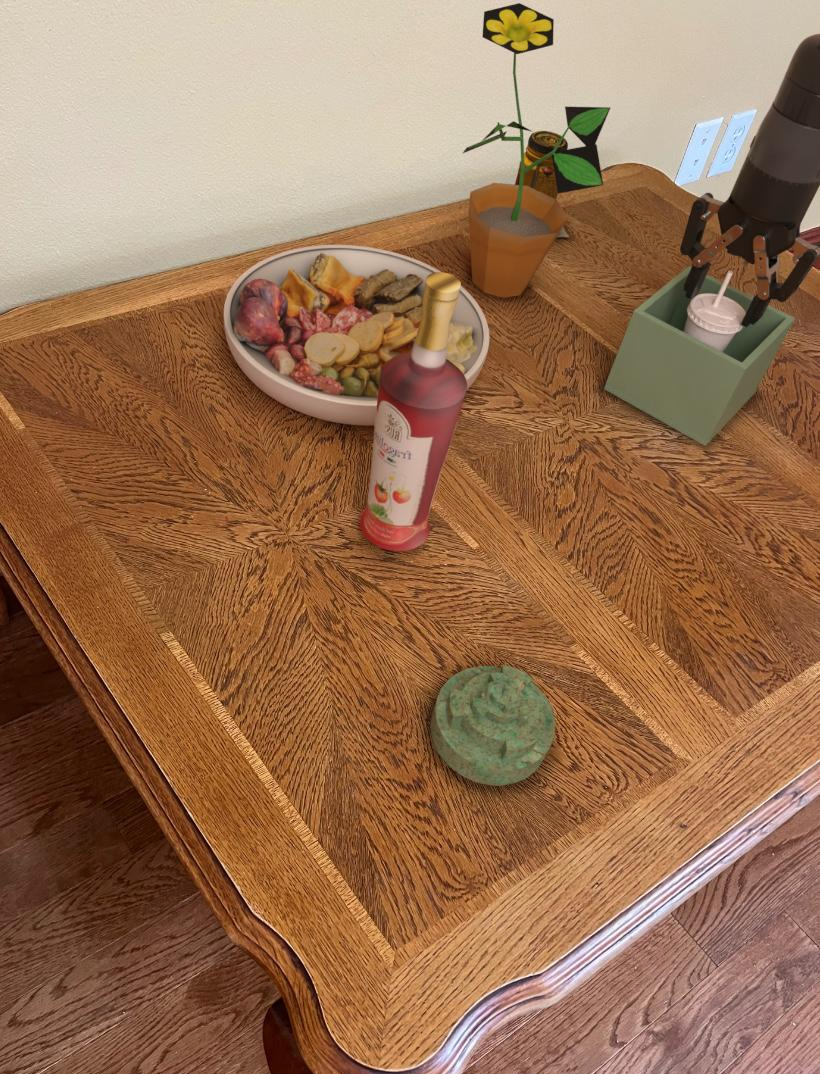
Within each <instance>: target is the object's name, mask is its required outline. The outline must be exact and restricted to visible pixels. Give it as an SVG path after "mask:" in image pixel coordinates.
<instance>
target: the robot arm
mask: <svg viewBox="0 0 820 1074" xmlns="http://www.w3.org/2000/svg"><path fill="white" fill-rule="evenodd" d="M819 188H820V33H815V34H812V35H809V36H807V37H806V38H804V39H803V40H801V42H800V43H799V45H797V47H796V50H794V53H793V55H792V57H791V59H790V61H789V64H788V66H787V70H786V71H785V73H784V76H783V78H782V81H781V83H780V85H779V87H778V89H777V92H776V94H775V97H774V98H773V101H772V103H771V105H770V107H769V109H768V111H767V112H766V114H765V116H764V118H763V120H762V121H761V123H760V125H759V127H758V129H757V131H756V134H755V135H754V137H753V139H752V140H751V142H750V144H749V150H748V152H747V155H746V157H745V159H744V161H743V164H742V166H741V168H740V170H739V173H738V175H737V177H736V180H735V182H734V185H733V187H732V190H731V192H730V193H729V196H728V197H727V199H726V200H725V201H722V200H719V199H716V198H714V195H713V193H711V192H706V193H704V194H702V195H701V196H699V197H698V198H697V199H695V201H693V202H692V205H691V209H690V211H689V212H690V213H689V214H688V215H689V216H688V219H687V223H686V226H685V230H684V233H683V237H682V241H681V243H680V248H679V252H680V253H681V255H683V256H687V257H688V258H689V259H690V261H691V270H690V272H689V274H688V277H687V279H686V282H685V284H684V291H686V292H687V293H686V295H685V297H687V298H688V299H690V300H691V299H692V298H694V297H695V296H696V295H697V294H698V292H699V290H700V288H701V286H702V284H703V282H704V279H705V277H706V275H708V272H709V270H710V268H711V265H712V262H711V263H710V261H711V260H712V259H713V258H714V257H715V256H717V255H718V254H719V253H720V252H722V251H723V250H724V249H726V253H727V254H729V255H732V256H734V257H735V256H736V257H739V258H741V259H742V260H744V261H745V262H746V263H748V264H750V265H752V266H753V265H754V277H755V279H756V281H757V285H756V287H757V293H756V294H755V295H754V296H753V297H754V298H753V300H752V302H751V304H750V306H749V308H748V310H747V312H746V314H745V316H744V318H743V320H742V322H741V325H742V326H744V327H746V328H747V327H748V326H749V325H750V324H752V325H754V324H755V323H756V322H757V321H758V320H759V319H760V318H761V317H762V316H763V314H764V312H765V310H766V308H767V306H768V305H770V303H771V300H777V301H778V302H779V303H785V302H786V301H787V300H789V298H790V297H791V296H792V295H794V293H796V292H797V290H798V289H799V287H800V285H801V284H802V282H803V281H804V280H805V278H806V277H807V275H808V274H809V272H810V271H811V269H812V268H813V267H814V265H815V264H816V262H817V261H818V259H819V258H820V242H815V243H813V244H812V243H810V242H809V241H807V240H805V239H804V238H802V237H801V224H802V222H803V220H804V218H805V216H806V214H807V212H808V210H809V208H810V206H811V204H812V202H813V200H814V198H815V196H816V194H817V192H818V190H819ZM715 214H716V215H717V218H718V224H719V229H720V230H719V231H720V234H721V235H720V236H719V237H718V238H717V239H715V240H714V241H713V242H712V243H711V244H709V245H708V246H707V247H705V246H704V245H703V244H702V239H703V237H704V233H705V229H706V227H707V223H708V221H709V220H711V219H713V217H714V216H715ZM790 249H792V251H793V255H792V263H793V264H794V267H793V269H792V270H791V271H790V273H789V275H787V277H786V279H785V280H784V282H779V269H780V266H781V254H783V253H784V252H786V251H788V250H790Z"/></svg>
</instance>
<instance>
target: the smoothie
mask: <svg viewBox="0 0 820 1074" xmlns="http://www.w3.org/2000/svg"><path fill="white" fill-rule="evenodd" d="M733 275H734V271H732V270H728V271H727V273H726V275H725V277H724V279H723V281H722V282H723V284H722V286H721V288H720V290H719V292H718V294H712V293H705V294H699V295H697V296H695V297H694V298H692V300H691V302H690V304H689V305H688V308H687V312H688V317H687V321H686V324H685V328H684V331H683V332H684V333H686V334H688V335H690V336H692V337H694V338H696V339H698V340H700V341H702V342H703V343H705V344H707V345H709V346H711V347H713V348H715V349H717V350H719V351H721V352H724V350H725V349H726V347H727V346H728V344H729V343H730V341H731V340H732V338H733V337H734V335H735V334H736V333H737V332H739V331H740V330H741V329H742V328H743V326H742V325H741V322H742V320H743V318H744V316H745V314H746V313H745V311H744V309H743V308H742V307H741V306H740V305H739V304H738V303H736V302H735V301H733V300H732V299H730V298H727V297H725V296H723V294H724V292H725V289H726V287H727V285H729V283H730V281H731V280H732V276H733Z"/></svg>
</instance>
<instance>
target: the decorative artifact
mask: <svg viewBox="0 0 820 1074" xmlns="http://www.w3.org/2000/svg"><path fill="white" fill-rule="evenodd" d="M533 681H534V679H533V677H531V676H530V675H529V674H527V673H525V672H524V671H522V670H520V669H518V668H516V667H513V666H510V665H507V664H502V666H493V665H478V666H473V667H468V668H466V669H463V670H461V671H459V672H457V673H455V674H454V675H452V676H451V677H449V678H448V679H447V681H446V682H445V683H444V684H443V686H441V688H440V690H439V692H438V695H437V698H436V701H435V704H434V707H433V711H432V714H431V716H430V736H431V739H432V743H433V745H434V748H435V750H436V752H437V753H438V755H439V756H440V758H441V759H442V760H443V761H444V763H445V764H446V765H447V766H448V767H450V769H452V771H454V772H455V773H457V774H458V775H460V776H461V777H463V778H466V779H467V780H470V781H472V782H475V783H477V784H481V785H486V786H498V787H499V786H508V785H512V784H516V783H520V782H521V781H524V780H525V779H528V778H529V777H530V776H532V775H533V774H534V773H535V772H536V771H537V770H538V769H539V768H540V766H541V764H542V763H543V761H544V760H545V757H546V755H547V753H548V752H549V750H550V748H551V746H552V743H553V742H554V738H555V735H556V720H555V713H554V711H553V707H552V706H551V704H550V702H549V700H548V698H547V696H545V694H544V693H543V691H542V690H541V689H540V688H539V687H538V686H537V685H536V684H535V683H534V682H533Z"/></svg>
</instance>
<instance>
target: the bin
mask: <svg viewBox="0 0 820 1074" xmlns="http://www.w3.org/2000/svg"><path fill="white" fill-rule="evenodd" d="M691 267H692V265H689V266H687V267H686V268H684V269H683V270H682V271H681V272H680V273H679V274H677V275H676V276H674V277H673V278H672V279H671V280H669V281H668V283H666V284H665V285H663V286H662V287H661V288H660V289H658V290H657V291H656V292H655V293H654V294H652V295H651V296H650V297H649V298H647V299H646V300H644V302H643V303H641V304H640V305H639V306H638V307H636V308H635V309H634V310H633V312H632V315H631V317H630V320H629V322H628V325H627V327H626V330H625V332H624V335H623V337H622V340H621V343H620V344H619V348H618V351H617V354H616V355H615V358H614V361H613V363H612V367H611V369H610V372H609V374H608V377H607V379H606V382H605V385H604V387H603V390H605V391H606V392H608V393H610V394H611V395H613V396H615V397H617V398H619V399H621V400H623V402H626V403H628V404H629V405H630V406H633V407H634V408H636V409H638V410H639V411H642V412H643V413H645V414H647V415H649V416H650V417H653V418H654V419H656V420H658V421H660V422H662V423H663V424H665V425H667V426H669V427H670V428H672V429H674V430H676V431H677V432H679V433H681V434H682V435H685V436H686V437H688V438H689V439H692V441H695V442H697V443H698V444H700V445H702V446H704V447H706V446H707V445H708V444H709V443H710V442H711V441H712V440H713V439H714V437H715V436H716V435H717V434H718V433H720V432H721V430H722V429H723V428H724V427H725V425H727V424H728V423H729V422H730V420H731V419H732V418H733V417H734V416H735V415H736V414H737V413H738V412H739V411H740V410H741V409H742V408H743V406H744V405H746V404H747V402H749V400H750V399H751V398H752V397H753V396H754V395H755V394H756V391H757V389H758V388H759V386H760V384H761V382H762V381H763V379H764V377H765V375H766V373H767V371H768V369H769V368H770V366H771V364H772V362H773V360H774V359H775V357H776V355H777V353H778V351H779V349H780V348H781V345H782V344H783V342H784V341H785V339H786V337H787V335H788V333H789V331H790V329H791V328H792V325H793V324H794V322H795V320H796V317H795V316H792V315H790V314H789V313H786V312H785V311H782V310H781V309H779V308H776V307H774V306H772V305H770V304H769V305H768V306H767V308H766V310H765V312H764V314H763V316H762V317H761V318H760V319H759V320H758V321H757V322H756V323H755V324H754V325H752V324H750V325H749V326H748V327H747V328H746V327H744V326H743V328H742V329H741V330H740V331H739V332H737V333H736V334H735V335H734V337H733V338H732V340H731V341H730V343H729V344H728V346H727V347H726V349H725V350H724V352H721V351H719V350H717V349H715V348H713V347H711V346H709V345H707V344H705V343H703V342H702V341H700V340H698V339H696V338H694V337H692V336H690V335H688V334H686V333H684V332H683V331H684V328H685V324H686V321H687V317H688V312H687V308H688V305H689V304H690V302H691V300H692V299H691V300H690V299H688V298H687V297H685V295H686V293H687V292H686V291H684V284H685V282H686V279H687V277H688V274H689V272H690V270H691ZM722 284H723V281H721V280H719V279H717V278H716V277H714V276H711V275H709V274H707V275H706V277H705V279H704V282H703V284H702V286H701V288H700V290H699V292H698V294H697V295H699V294H705V293H712V294H718V292H719V290H720V288H721V286H722ZM697 295H696V296H697ZM723 296H725V297H727V298H730V299H732V300H733V301H735V302H736V303H738V304H739V305H740V306H741V307H742V308H743V309H744V311H745V313H746V312H747V310H748V308H749V306H750V304H751V302H752V300H753V298H754V296H752V295H750V294H748V293H746V292H745V291H742V290H740V289H738V288H735V287H733V286H732V285H730V284H728V285H727V287H726V289H725V292H724V294H723Z"/></svg>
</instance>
